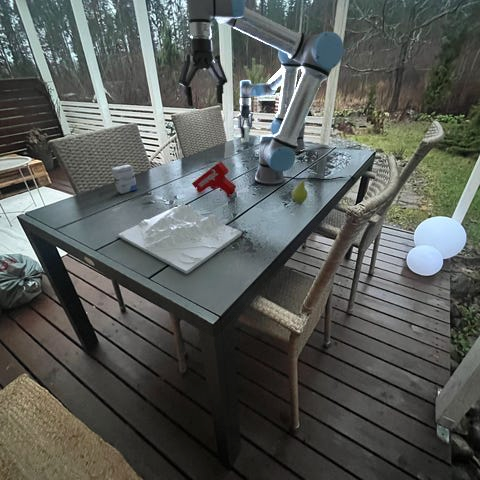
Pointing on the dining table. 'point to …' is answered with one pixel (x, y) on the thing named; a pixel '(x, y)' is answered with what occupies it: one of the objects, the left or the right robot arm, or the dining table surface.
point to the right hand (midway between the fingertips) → (245, 137)
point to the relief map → (181, 237)
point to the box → (245, 134)
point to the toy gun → (215, 180)
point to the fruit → (300, 192)
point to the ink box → (124, 178)
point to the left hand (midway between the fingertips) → (205, 104)
